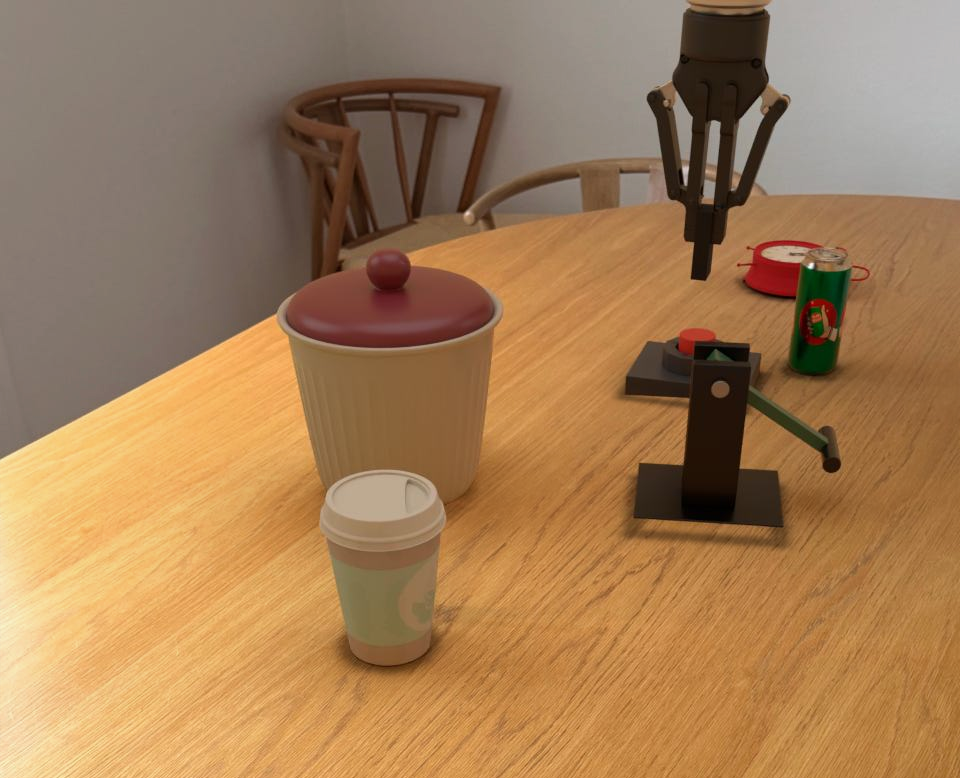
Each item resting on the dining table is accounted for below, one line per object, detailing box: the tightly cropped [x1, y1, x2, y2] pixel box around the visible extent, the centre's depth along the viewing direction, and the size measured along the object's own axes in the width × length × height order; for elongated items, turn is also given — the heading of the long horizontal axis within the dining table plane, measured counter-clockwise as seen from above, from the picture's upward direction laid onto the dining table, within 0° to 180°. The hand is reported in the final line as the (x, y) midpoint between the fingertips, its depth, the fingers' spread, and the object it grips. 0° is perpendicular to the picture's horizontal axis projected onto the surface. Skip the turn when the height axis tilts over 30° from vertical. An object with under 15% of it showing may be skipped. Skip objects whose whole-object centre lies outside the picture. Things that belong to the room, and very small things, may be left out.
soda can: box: [787, 247, 854, 376], centre depth 128 cm, size 5×5×12 cm
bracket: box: [633, 341, 784, 528], centre depth 103 cm, size 12×10×14 cm
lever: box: [707, 349, 842, 474], centre depth 101 cm, size 13×6×2 cm
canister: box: [276, 247, 504, 505], centre depth 104 cm, size 18×18×21 cm
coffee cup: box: [318, 470, 447, 667], centre depth 87 cm, size 8×8×12 cm
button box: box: [624, 336, 762, 399], centre depth 127 cm, size 12×10×4 cm
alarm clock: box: [736, 239, 871, 297], centre depth 152 cm, size 10×6×15 cm
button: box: [678, 327, 717, 355], centre depth 126 cm, size 4×4×2 cm
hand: (700, 275), depth 122 cm, fingers closed
